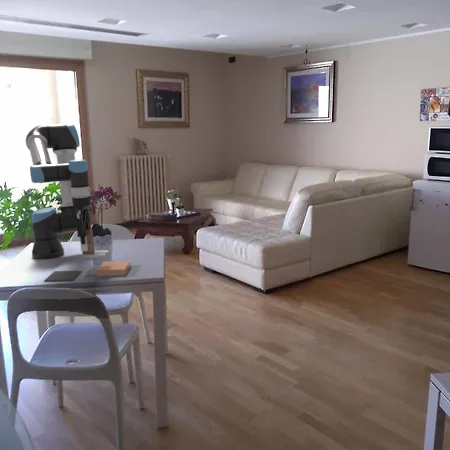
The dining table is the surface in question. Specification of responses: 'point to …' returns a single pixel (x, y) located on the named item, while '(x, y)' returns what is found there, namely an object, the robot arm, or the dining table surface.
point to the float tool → (91, 252)
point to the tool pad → (62, 276)
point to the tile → (113, 268)
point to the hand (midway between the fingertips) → (86, 249)
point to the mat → (130, 272)
